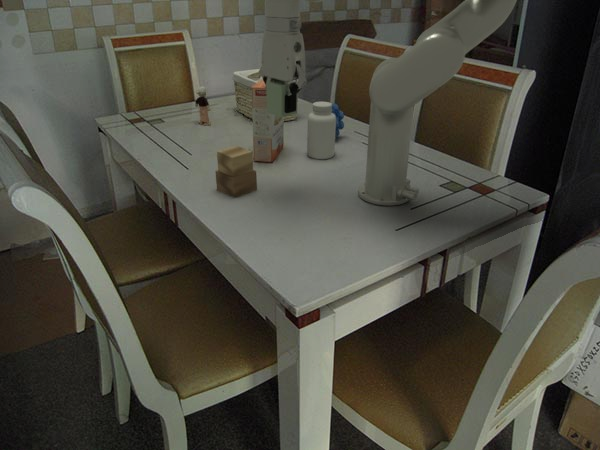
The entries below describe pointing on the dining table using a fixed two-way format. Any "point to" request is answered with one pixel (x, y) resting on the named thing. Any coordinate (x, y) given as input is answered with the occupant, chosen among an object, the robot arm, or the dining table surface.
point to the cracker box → (265, 127)
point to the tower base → (236, 183)
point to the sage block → (277, 98)
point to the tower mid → (235, 161)
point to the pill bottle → (321, 131)
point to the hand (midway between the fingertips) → (281, 108)
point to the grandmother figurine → (203, 105)
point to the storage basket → (248, 92)
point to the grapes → (338, 119)
